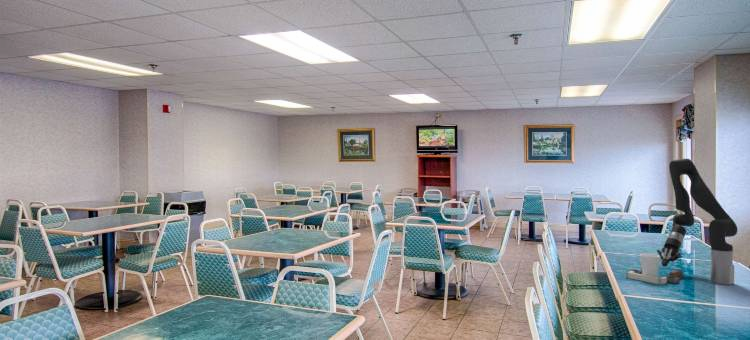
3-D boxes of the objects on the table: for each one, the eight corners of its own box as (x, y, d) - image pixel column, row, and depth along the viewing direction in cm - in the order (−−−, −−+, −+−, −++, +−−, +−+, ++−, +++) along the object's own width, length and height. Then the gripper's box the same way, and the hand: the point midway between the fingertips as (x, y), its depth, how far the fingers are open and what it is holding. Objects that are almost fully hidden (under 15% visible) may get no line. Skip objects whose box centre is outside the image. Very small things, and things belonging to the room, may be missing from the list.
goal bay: (666, 282, 246) (666, 277, 246) (661, 284, 243) (661, 278, 243) (631, 276, 261) (631, 270, 261) (626, 277, 258) (626, 272, 258)
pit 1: (642, 275, 263) (642, 271, 263) (637, 276, 260) (637, 272, 259) (632, 273, 267) (632, 269, 267) (627, 274, 264) (627, 270, 264)
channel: (682, 277, 257) (682, 270, 257) (673, 280, 252) (673, 272, 251) (649, 271, 271) (649, 264, 271) (641, 274, 266) (641, 267, 266)
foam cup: (664, 281, 250) (664, 256, 250) (648, 281, 249) (648, 257, 248) (651, 276, 259) (651, 253, 259) (635, 277, 258) (636, 253, 258)
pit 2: (679, 282, 247) (679, 277, 247) (674, 283, 244) (674, 279, 244) (668, 280, 252) (668, 275, 252) (663, 281, 249) (663, 277, 249)
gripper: (659, 236, 273) (649, 259, 267) (684, 239, 263) (674, 263, 256) (663, 244, 277) (653, 267, 270) (689, 247, 266) (678, 272, 259)
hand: (663, 265), depth 263 cm, fingers closed
